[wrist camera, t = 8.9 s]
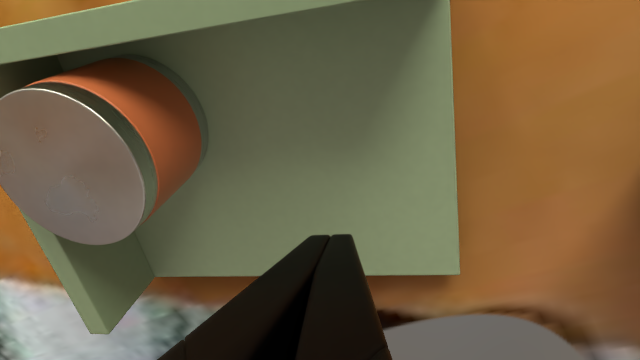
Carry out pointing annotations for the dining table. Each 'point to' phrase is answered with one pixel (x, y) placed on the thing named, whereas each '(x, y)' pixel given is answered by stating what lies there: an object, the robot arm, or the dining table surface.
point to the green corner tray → (271, 137)
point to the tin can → (100, 146)
